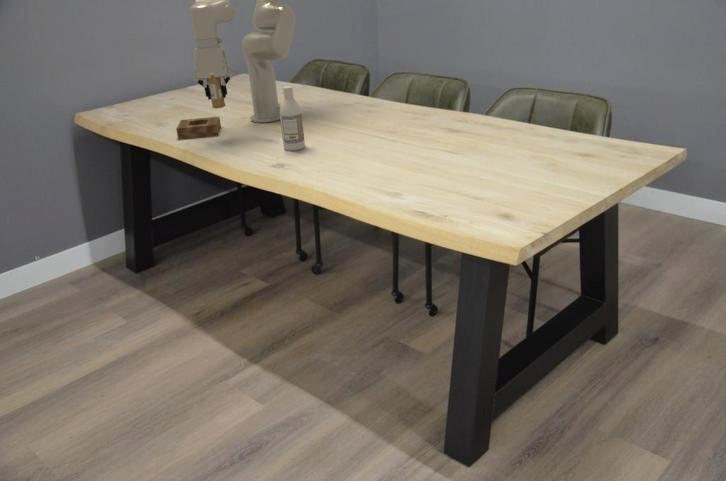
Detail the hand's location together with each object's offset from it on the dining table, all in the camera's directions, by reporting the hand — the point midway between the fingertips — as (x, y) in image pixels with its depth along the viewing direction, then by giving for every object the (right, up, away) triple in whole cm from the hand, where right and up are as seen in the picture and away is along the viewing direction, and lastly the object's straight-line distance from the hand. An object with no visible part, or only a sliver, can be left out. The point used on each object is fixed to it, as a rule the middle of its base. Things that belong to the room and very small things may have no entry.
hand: (217, 97), depth 245 cm
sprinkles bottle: (0, -3, +2) cm, 4 cm away
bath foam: (+27, -19, -9) cm, 34 cm away
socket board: (-9, -10, +16) cm, 21 cm away
